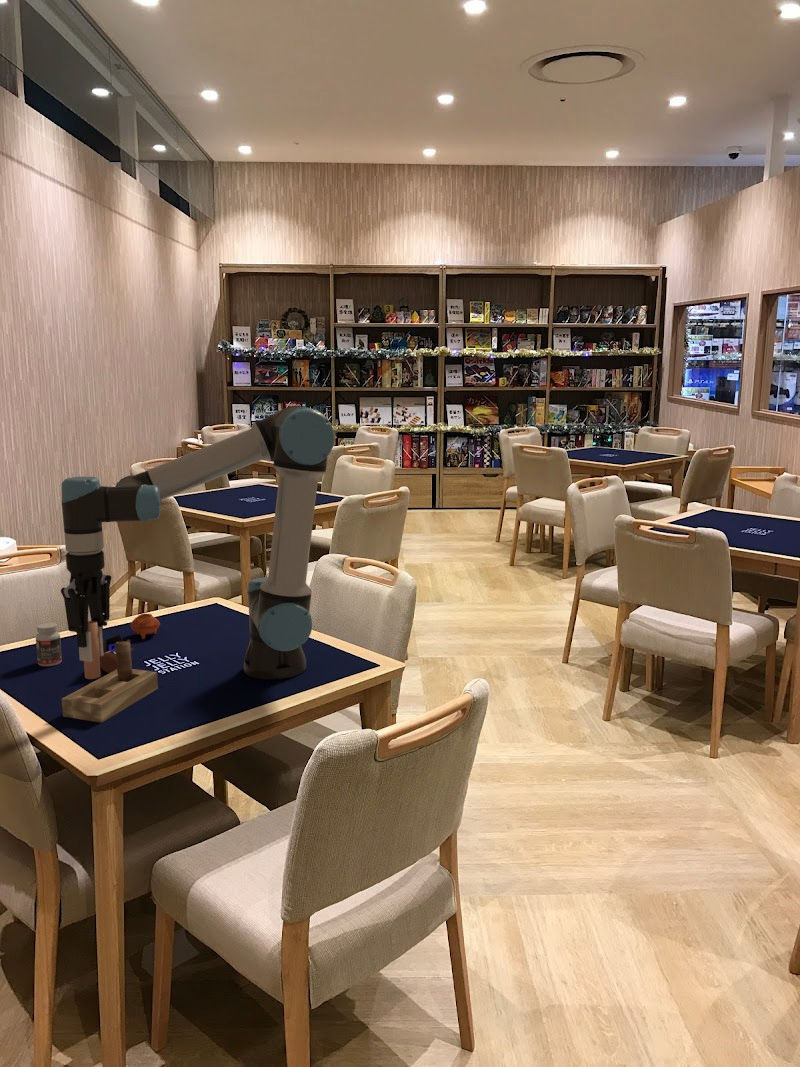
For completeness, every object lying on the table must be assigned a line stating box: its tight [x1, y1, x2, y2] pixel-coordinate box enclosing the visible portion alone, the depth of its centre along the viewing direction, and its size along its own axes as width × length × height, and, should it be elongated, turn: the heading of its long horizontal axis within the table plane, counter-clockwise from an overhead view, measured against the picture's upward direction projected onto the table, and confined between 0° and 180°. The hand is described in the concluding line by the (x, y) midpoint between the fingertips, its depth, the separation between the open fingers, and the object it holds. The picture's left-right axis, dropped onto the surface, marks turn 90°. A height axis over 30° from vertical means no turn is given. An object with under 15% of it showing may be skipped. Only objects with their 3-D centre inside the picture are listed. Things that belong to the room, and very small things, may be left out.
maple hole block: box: [61, 668, 159, 723], centre depth 190 cm, size 10×20×4 cm, turn 161°
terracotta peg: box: [83, 620, 102, 680], centre depth 183 cm, size 3×3×12 cm
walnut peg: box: [115, 640, 133, 682], centre depth 194 cm, size 3×3×12 cm
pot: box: [129, 613, 161, 640], centre depth 236 cm, size 8×8×7 cm
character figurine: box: [100, 634, 134, 678], centre depth 210 cm, size 8×7×15 cm
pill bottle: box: [35, 622, 63, 667], centre depth 215 cm, size 6×6×10 cm
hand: (91, 657), depth 184 cm, fingers closed on terracotta peg, 3 cm apart
